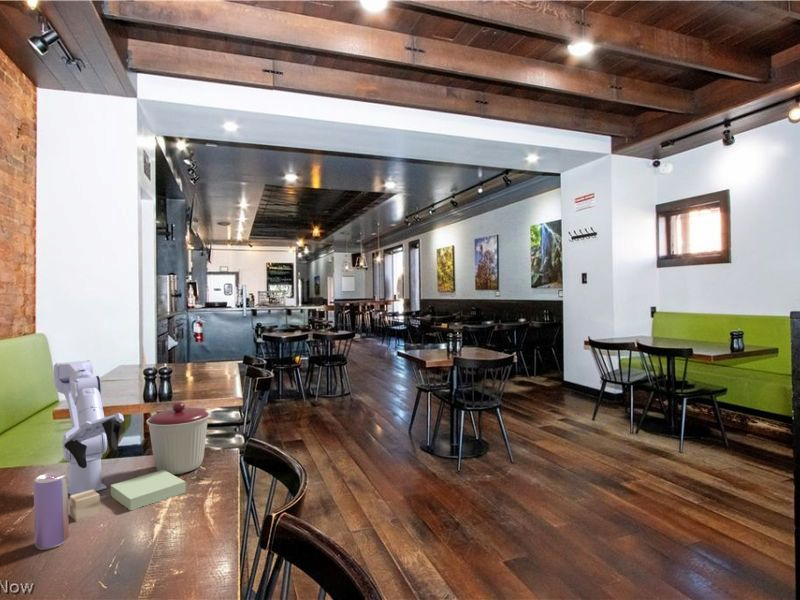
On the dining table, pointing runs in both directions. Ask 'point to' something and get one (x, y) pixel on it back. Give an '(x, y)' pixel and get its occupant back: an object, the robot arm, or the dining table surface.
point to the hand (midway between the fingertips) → (98, 458)
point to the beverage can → (51, 510)
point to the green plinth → (147, 489)
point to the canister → (178, 438)
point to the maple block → (84, 505)
